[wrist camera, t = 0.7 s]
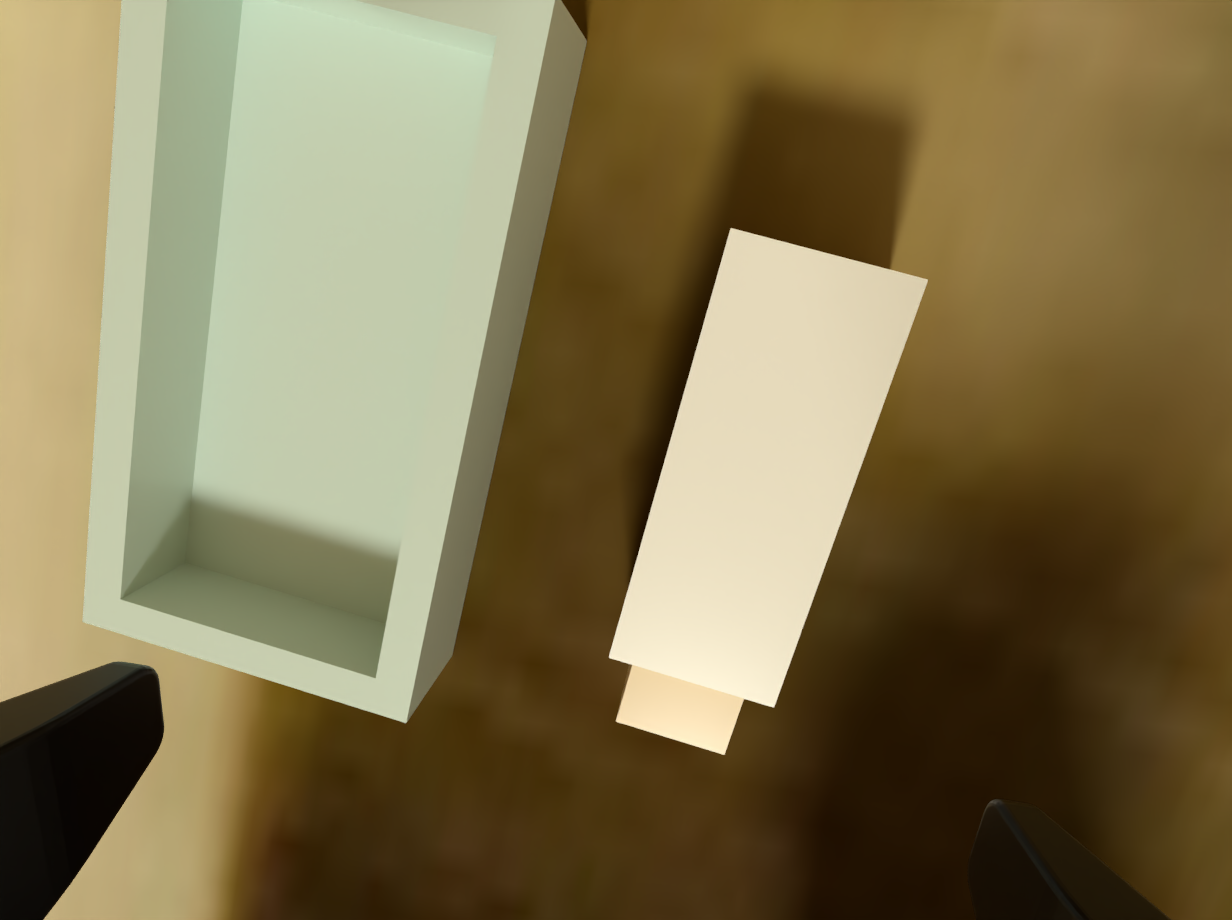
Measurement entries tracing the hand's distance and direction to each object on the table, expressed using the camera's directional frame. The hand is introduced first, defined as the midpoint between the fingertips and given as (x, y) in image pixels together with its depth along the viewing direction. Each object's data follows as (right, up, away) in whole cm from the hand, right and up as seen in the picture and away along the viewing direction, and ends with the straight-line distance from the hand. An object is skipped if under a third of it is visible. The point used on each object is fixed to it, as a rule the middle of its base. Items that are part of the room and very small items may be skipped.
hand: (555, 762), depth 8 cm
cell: (+4, +3, +13) cm, 13 cm away
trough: (-7, +7, +13) cm, 16 cm away
